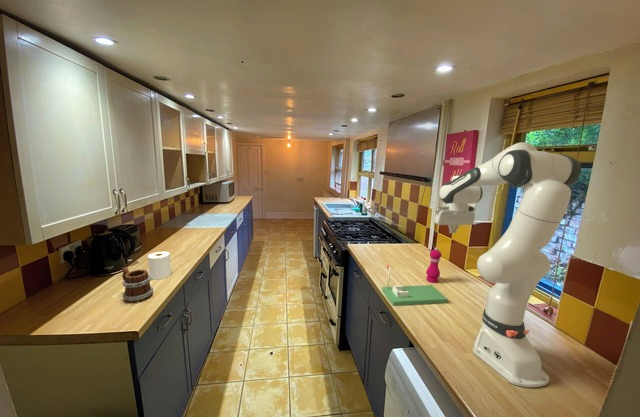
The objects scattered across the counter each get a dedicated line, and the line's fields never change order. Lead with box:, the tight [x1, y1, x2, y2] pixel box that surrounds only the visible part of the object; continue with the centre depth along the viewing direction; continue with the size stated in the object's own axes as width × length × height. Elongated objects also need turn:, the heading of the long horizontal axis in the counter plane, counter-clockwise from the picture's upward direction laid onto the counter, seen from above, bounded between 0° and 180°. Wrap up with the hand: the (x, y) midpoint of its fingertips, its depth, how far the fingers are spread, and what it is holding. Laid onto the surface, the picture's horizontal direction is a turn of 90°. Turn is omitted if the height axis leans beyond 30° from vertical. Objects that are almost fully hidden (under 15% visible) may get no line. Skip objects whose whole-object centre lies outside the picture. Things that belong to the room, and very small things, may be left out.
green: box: [381, 263, 449, 306], centre depth 130 cm, size 16×28×14 cm, turn 98°
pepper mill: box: [425, 247, 442, 284], centre depth 148 cm, size 7×7×20 cm
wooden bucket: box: [121, 267, 154, 304], centre depth 121 cm, size 12×14×15 cm
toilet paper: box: [147, 251, 172, 280], centre depth 142 cm, size 10×10×12 cm
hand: (452, 232), depth 135 cm, fingers closed
